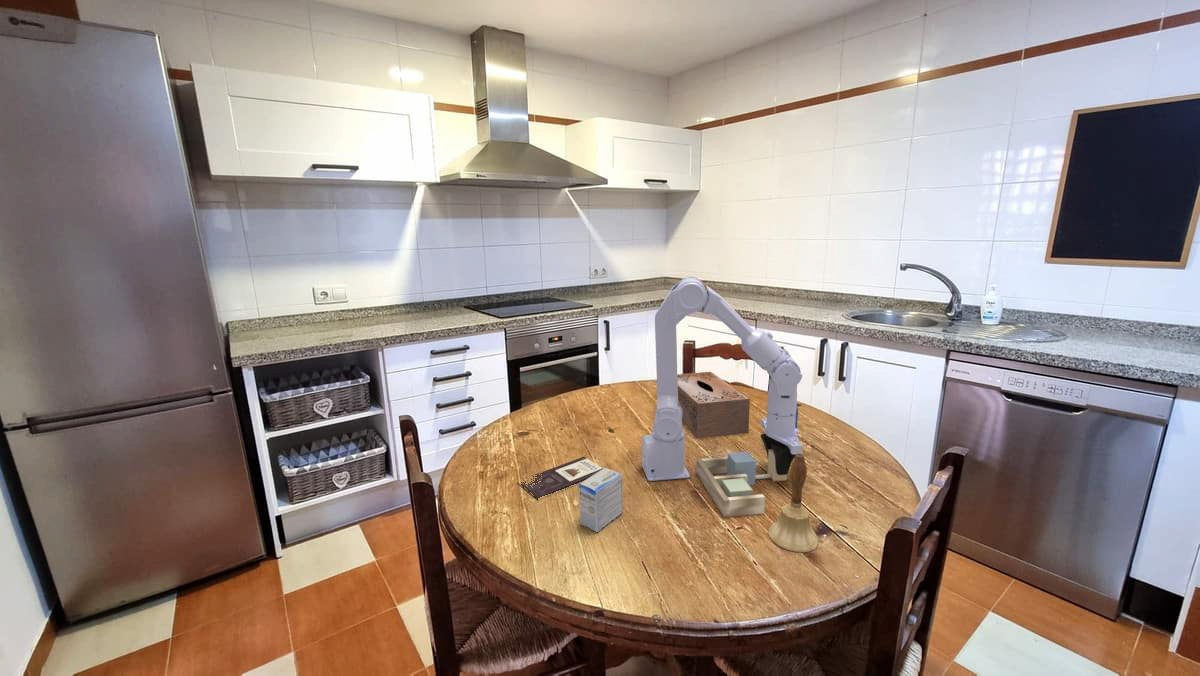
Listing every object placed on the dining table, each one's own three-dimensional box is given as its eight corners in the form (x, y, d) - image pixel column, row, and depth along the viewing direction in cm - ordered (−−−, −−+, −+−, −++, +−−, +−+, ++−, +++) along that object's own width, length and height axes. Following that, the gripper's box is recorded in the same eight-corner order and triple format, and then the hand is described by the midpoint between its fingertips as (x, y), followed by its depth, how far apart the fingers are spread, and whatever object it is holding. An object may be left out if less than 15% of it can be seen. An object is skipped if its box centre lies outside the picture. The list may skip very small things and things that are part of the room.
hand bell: (825, 535, 83) (832, 452, 80) (809, 559, 77) (815, 471, 74) (778, 517, 89) (783, 439, 85) (760, 539, 83) (764, 456, 79)
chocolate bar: (517, 481, 104) (583, 456, 115) (517, 485, 105) (583, 460, 115) (537, 498, 97) (606, 470, 108) (537, 502, 98) (606, 474, 108)
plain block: (729, 510, 92) (730, 491, 91) (721, 497, 96) (721, 480, 95) (751, 508, 92) (752, 489, 92) (742, 495, 97) (743, 478, 96)
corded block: (734, 486, 100) (735, 460, 99) (727, 476, 104) (727, 451, 103) (788, 481, 101) (790, 456, 100) (778, 471, 106) (780, 446, 104)
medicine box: (605, 506, 95) (604, 466, 93) (623, 513, 92) (622, 473, 90) (579, 525, 89) (577, 483, 87) (598, 534, 86) (596, 491, 84)
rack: (723, 517, 90) (724, 500, 89) (696, 473, 106) (696, 459, 105) (764, 513, 90) (765, 497, 90) (730, 470, 107) (731, 456, 106)
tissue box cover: (666, 405, 149) (666, 375, 146) (709, 401, 151) (710, 371, 149) (697, 439, 124) (697, 403, 122) (748, 434, 126) (749, 398, 124)
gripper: (818, 423, 93) (813, 485, 96) (783, 398, 107) (780, 453, 110) (784, 425, 93) (780, 488, 96) (753, 400, 107) (751, 455, 110)
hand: (778, 470), depth 103 cm, fingers closed on corded block, 3 cm apart
